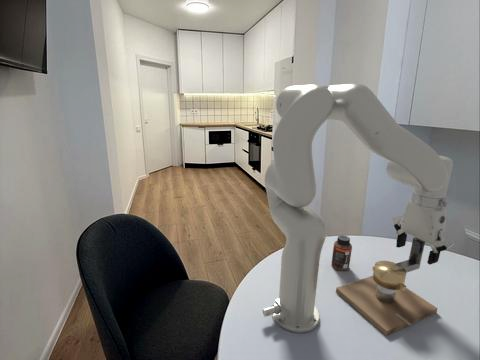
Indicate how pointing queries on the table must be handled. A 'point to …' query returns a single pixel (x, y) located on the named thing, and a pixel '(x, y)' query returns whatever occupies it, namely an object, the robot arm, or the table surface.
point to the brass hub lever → (398, 268)
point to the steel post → (385, 294)
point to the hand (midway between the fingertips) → (415, 254)
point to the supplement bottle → (341, 253)
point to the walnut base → (385, 305)
